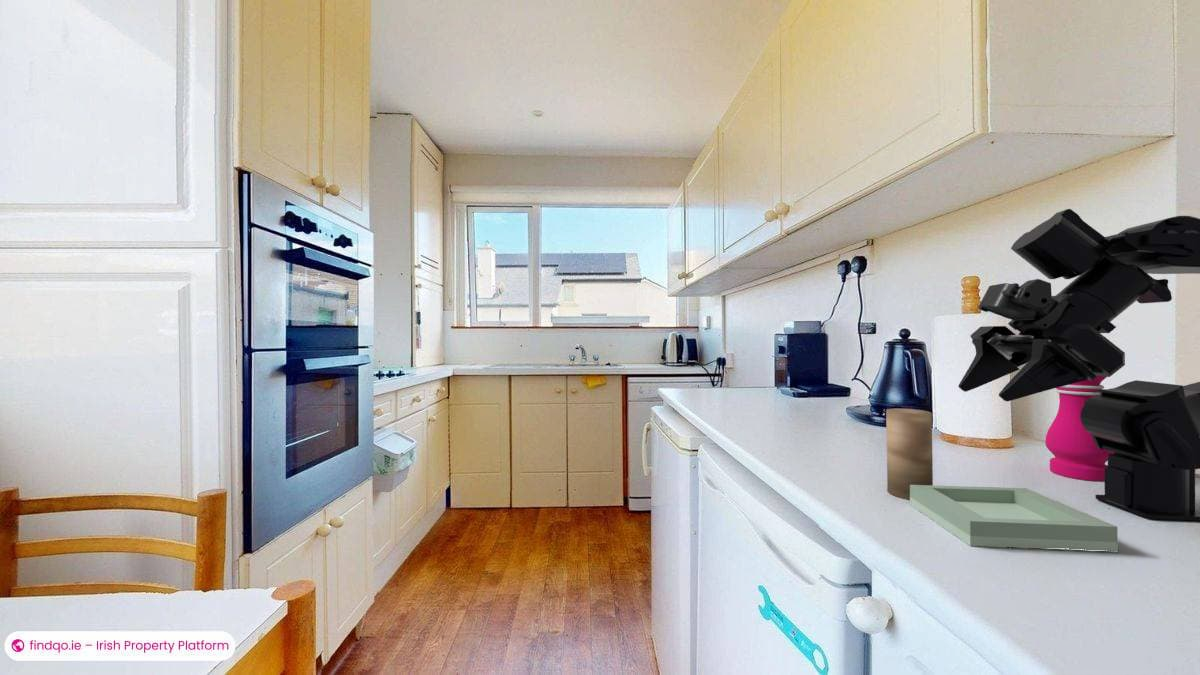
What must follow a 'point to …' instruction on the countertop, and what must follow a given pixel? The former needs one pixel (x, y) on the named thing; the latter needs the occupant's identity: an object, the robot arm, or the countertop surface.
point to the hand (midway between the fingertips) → (980, 393)
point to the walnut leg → (908, 450)
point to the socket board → (1011, 518)
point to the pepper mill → (1075, 435)
